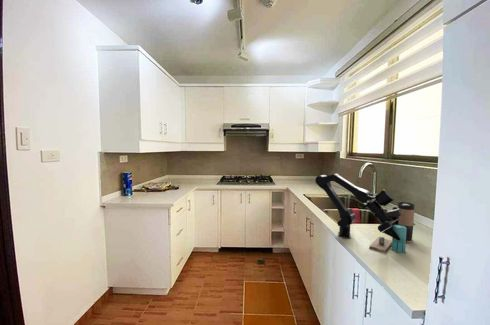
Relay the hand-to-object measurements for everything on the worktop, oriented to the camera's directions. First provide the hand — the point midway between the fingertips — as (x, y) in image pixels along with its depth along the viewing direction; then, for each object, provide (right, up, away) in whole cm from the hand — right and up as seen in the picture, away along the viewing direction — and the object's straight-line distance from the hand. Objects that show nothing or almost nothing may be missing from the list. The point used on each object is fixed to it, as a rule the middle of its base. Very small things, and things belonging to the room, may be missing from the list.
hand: (401, 237), depth 114 cm
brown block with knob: (-6, -6, +7) cm, 11 cm away
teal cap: (-1, -7, +1) cm, 7 cm away
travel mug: (+12, -6, +15) cm, 20 cm away
